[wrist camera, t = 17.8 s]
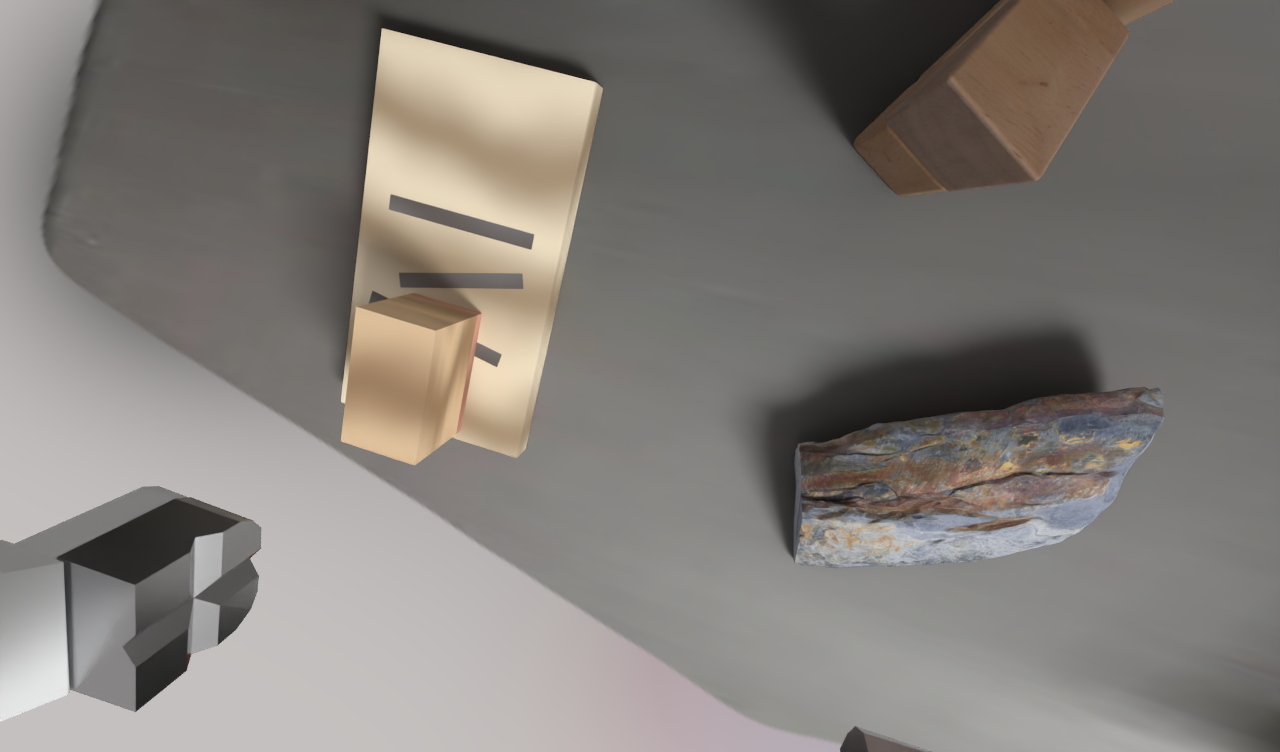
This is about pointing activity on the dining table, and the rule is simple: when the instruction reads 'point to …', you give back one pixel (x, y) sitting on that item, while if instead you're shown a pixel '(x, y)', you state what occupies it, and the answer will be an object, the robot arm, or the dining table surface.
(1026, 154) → the stacked wooden blocks
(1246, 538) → the dining table surface
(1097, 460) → the stone
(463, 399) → the block
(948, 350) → the dining table surface
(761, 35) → the dining table surface
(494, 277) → the board
